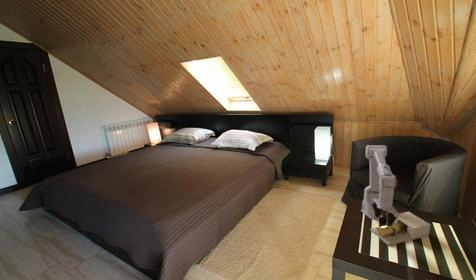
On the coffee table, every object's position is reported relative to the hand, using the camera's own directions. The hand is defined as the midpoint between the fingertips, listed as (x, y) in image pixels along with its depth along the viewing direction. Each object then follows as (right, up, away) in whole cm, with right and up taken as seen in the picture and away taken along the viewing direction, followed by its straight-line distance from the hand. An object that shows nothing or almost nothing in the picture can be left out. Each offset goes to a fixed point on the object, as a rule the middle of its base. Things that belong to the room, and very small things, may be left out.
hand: (383, 221), depth 112 cm
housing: (+11, -8, +4) cm, 14 cm away
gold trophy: (+6, -7, +3) cm, 10 cm away
